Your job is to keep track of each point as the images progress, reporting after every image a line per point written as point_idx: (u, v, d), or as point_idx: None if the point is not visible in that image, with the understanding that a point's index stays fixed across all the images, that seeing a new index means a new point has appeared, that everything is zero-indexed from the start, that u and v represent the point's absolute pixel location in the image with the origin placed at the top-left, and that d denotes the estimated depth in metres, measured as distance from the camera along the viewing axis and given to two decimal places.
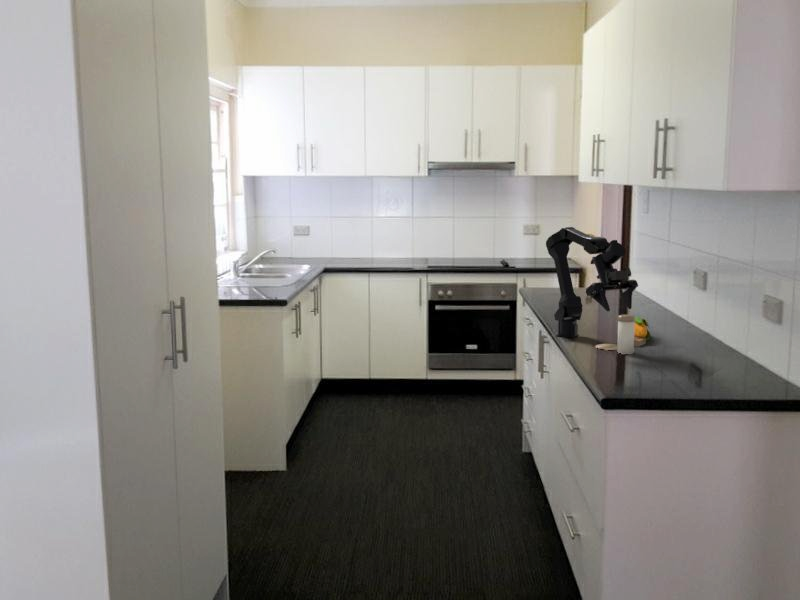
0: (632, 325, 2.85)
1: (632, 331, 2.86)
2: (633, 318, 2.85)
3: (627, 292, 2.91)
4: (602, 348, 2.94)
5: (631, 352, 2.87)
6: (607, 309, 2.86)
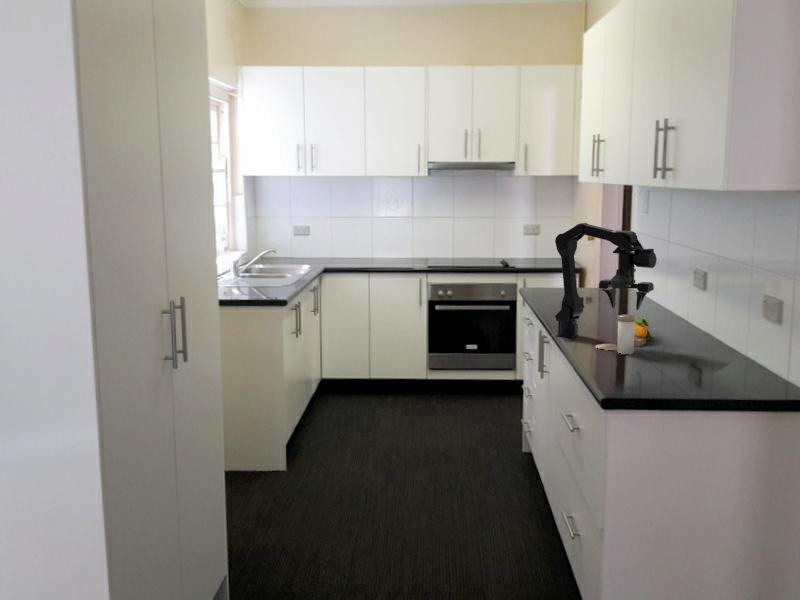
0: (632, 325, 2.85)
1: (632, 331, 2.86)
2: (633, 318, 2.85)
3: None
4: (602, 348, 2.94)
5: (631, 352, 2.87)
6: None
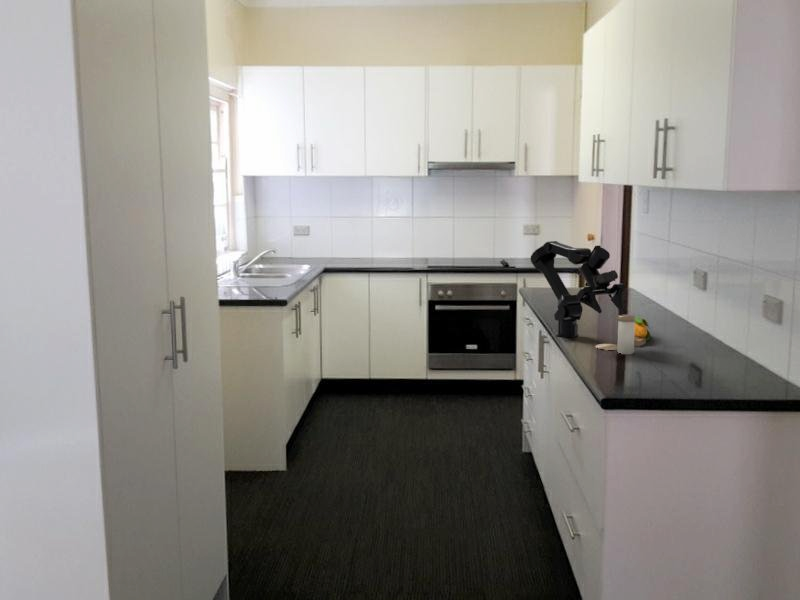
0: (632, 325, 2.85)
1: (632, 331, 2.86)
2: (633, 318, 2.85)
3: (616, 295, 2.98)
4: (602, 348, 2.94)
5: (631, 352, 2.87)
6: (599, 311, 2.92)
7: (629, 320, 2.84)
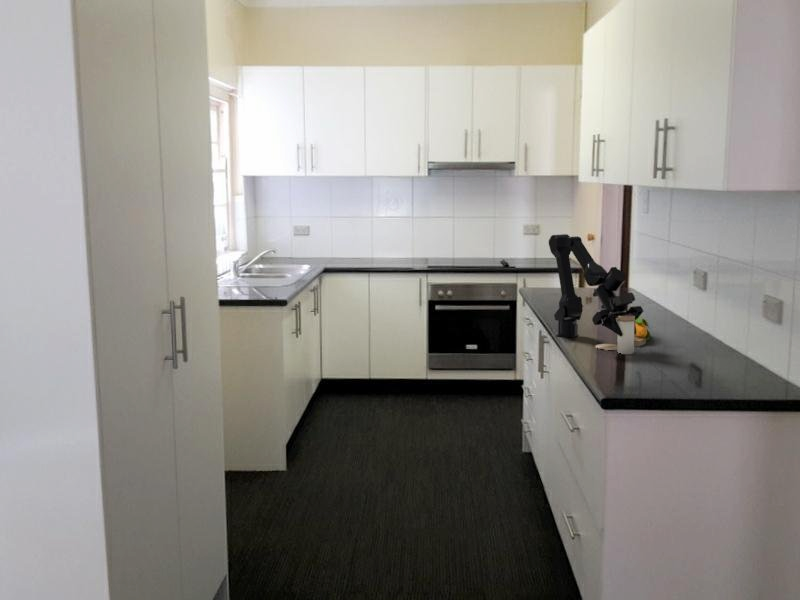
0: (632, 325, 2.85)
1: (632, 331, 2.86)
2: (633, 318, 2.85)
3: None
4: (602, 348, 2.94)
5: (631, 352, 2.87)
6: (620, 334, 2.86)
7: (629, 320, 2.84)
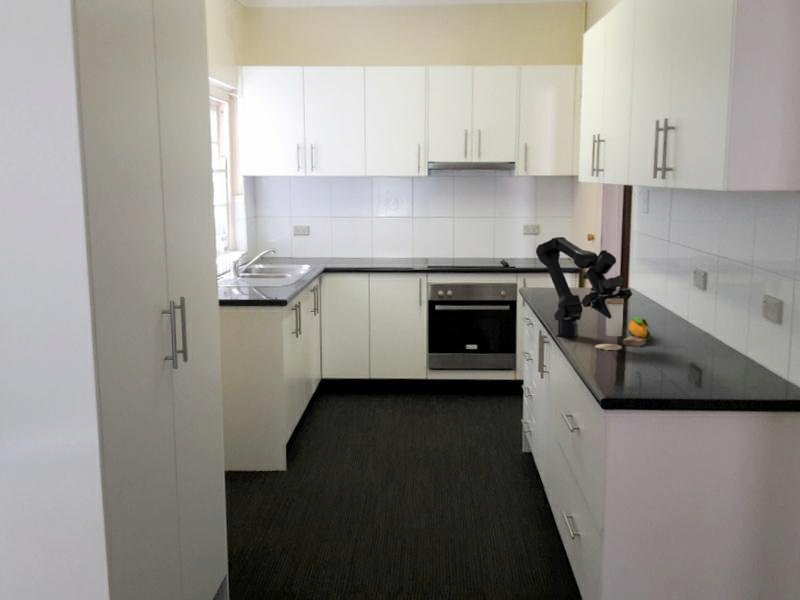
0: (621, 307, 2.90)
1: (620, 313, 2.90)
2: (622, 300, 2.90)
3: None
4: (602, 348, 2.94)
5: (619, 334, 2.91)
6: (608, 316, 2.90)
7: (617, 302, 2.89)
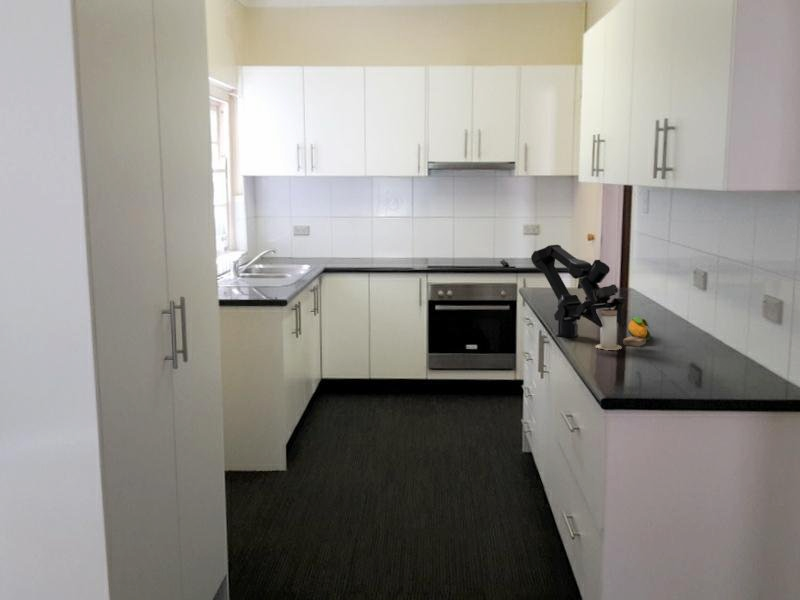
0: (614, 319, 2.93)
1: (614, 325, 2.94)
2: (615, 312, 2.93)
3: (616, 309, 2.99)
4: (602, 348, 2.94)
5: (613, 345, 2.95)
6: (600, 325, 2.93)
7: (611, 314, 2.92)
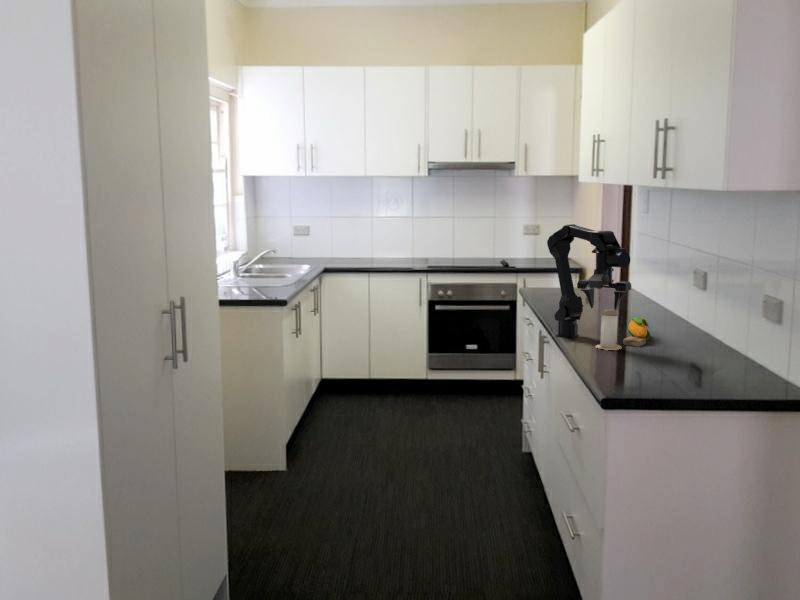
0: (615, 319, 2.93)
1: (615, 325, 2.94)
2: (616, 312, 2.93)
3: None
4: (602, 348, 2.94)
5: (614, 345, 2.95)
6: None
7: (612, 314, 2.93)
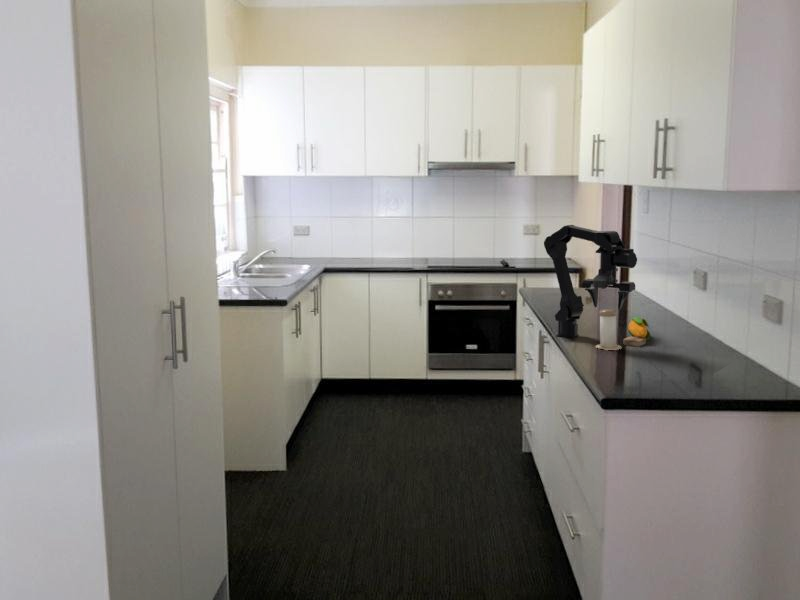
0: (613, 319, 2.93)
1: (614, 325, 2.93)
2: (614, 312, 2.93)
3: None
4: (602, 348, 2.94)
5: (613, 345, 2.95)
6: None
7: (610, 315, 2.92)
